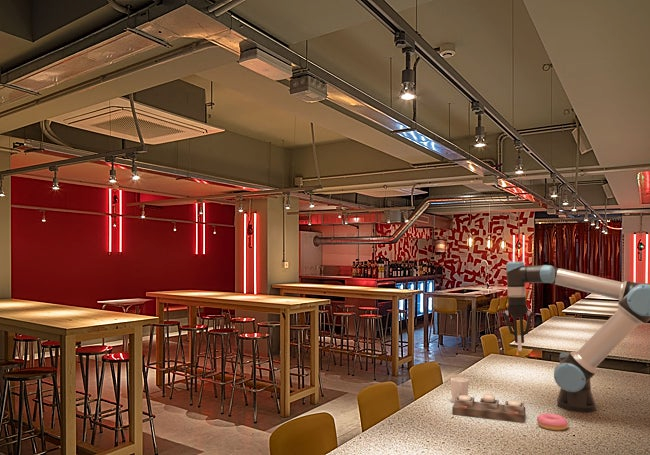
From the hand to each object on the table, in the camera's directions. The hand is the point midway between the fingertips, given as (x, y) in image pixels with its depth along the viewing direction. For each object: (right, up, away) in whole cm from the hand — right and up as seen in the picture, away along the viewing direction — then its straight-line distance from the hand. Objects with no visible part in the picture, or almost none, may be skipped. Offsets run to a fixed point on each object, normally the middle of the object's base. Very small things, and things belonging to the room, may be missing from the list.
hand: (520, 350), depth 213 cm
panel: (-17, -24, -10) cm, 31 cm away
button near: (-7, -20, -13) cm, 25 cm away
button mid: (-17, -19, -9) cm, 27 cm away
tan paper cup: (-24, -26, +8) cm, 36 cm away
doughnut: (+2, -23, -26) cm, 35 cm away
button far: (-26, -21, -5) cm, 33 cm away
